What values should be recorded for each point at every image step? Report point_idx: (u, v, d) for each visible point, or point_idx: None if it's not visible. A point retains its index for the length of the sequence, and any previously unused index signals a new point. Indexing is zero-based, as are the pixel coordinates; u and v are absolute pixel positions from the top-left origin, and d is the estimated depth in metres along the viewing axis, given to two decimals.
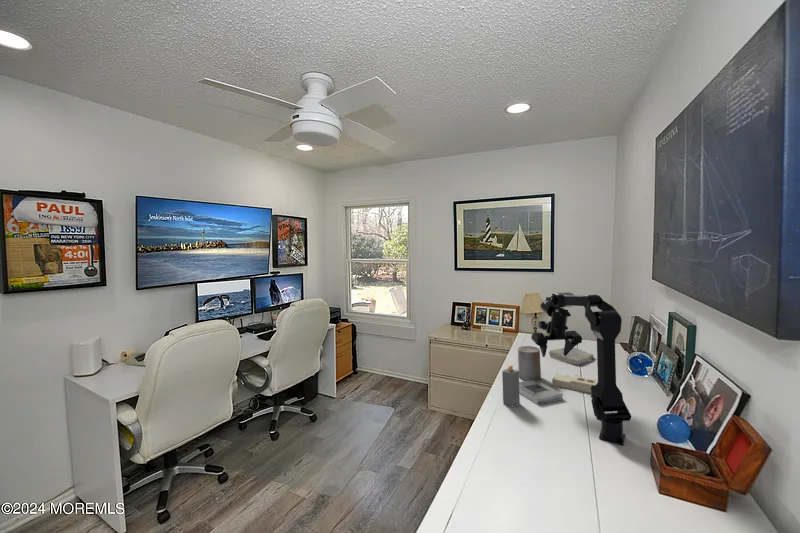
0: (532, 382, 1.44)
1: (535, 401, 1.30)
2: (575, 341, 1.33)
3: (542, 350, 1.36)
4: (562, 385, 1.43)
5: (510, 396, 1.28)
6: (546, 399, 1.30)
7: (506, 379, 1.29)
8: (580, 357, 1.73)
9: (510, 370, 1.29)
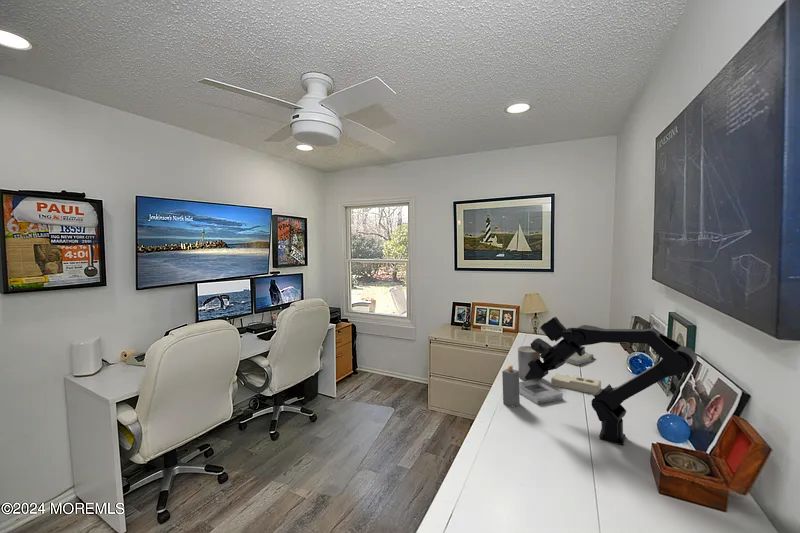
0: (532, 382, 1.44)
1: (535, 401, 1.30)
2: None
3: (532, 376, 1.17)
4: (561, 385, 1.44)
5: (510, 396, 1.28)
6: (546, 399, 1.30)
7: (506, 379, 1.29)
8: (580, 357, 1.73)
9: (510, 370, 1.29)
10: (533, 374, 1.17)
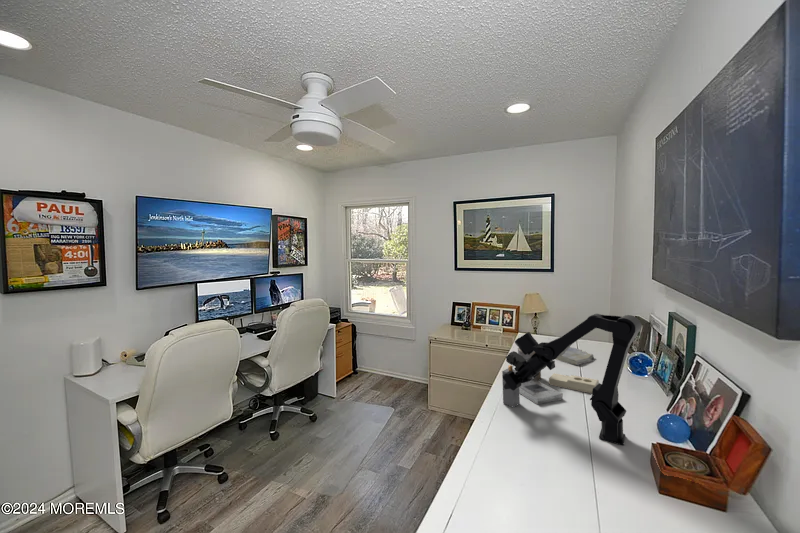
0: (532, 382, 1.44)
1: (535, 401, 1.30)
2: (534, 377, 1.29)
3: (510, 386, 1.26)
4: (559, 384, 1.44)
5: (510, 396, 1.28)
6: (546, 399, 1.30)
7: None
8: (580, 357, 1.73)
9: (510, 370, 1.29)
10: None
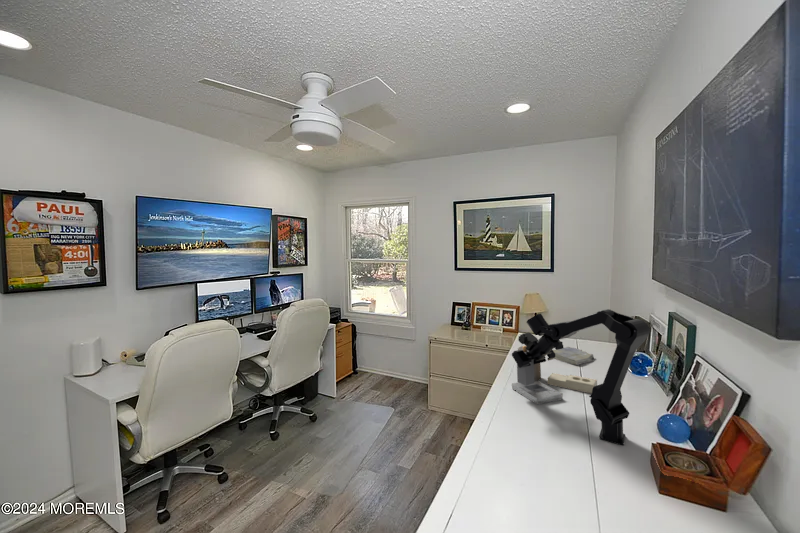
0: None
1: (535, 401, 1.30)
2: (549, 359, 1.32)
3: None
4: (557, 384, 1.45)
5: (523, 374, 1.33)
6: (546, 399, 1.30)
7: None
8: (580, 357, 1.73)
9: (524, 350, 1.34)
10: None
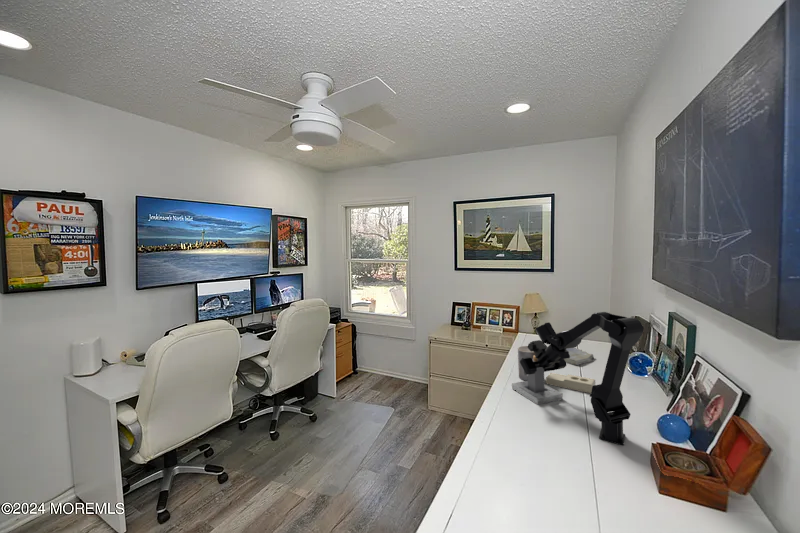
0: None
1: (535, 401, 1.30)
2: (559, 367, 1.33)
3: None
4: (556, 384, 1.45)
5: (533, 384, 1.36)
6: (546, 399, 1.30)
7: None
8: (580, 357, 1.73)
9: (534, 360, 1.37)
10: None
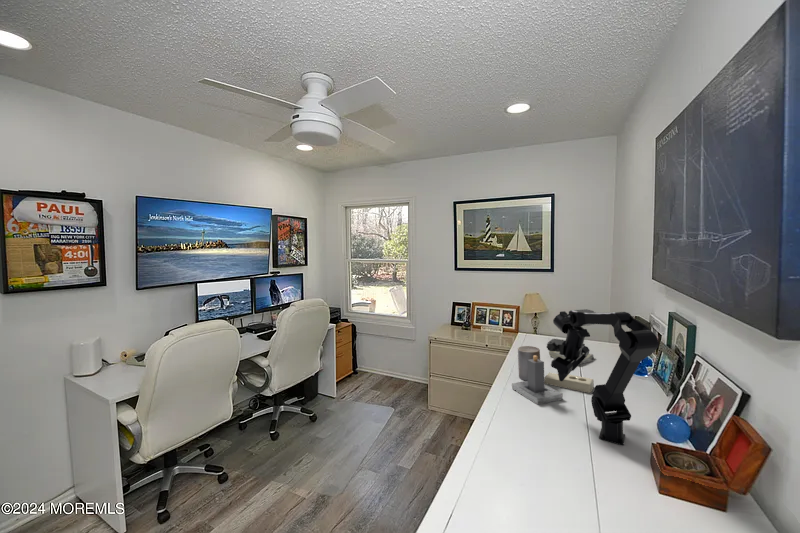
0: None
1: (535, 401, 1.30)
2: (586, 354, 1.26)
3: (563, 375, 1.21)
4: (554, 383, 1.45)
5: (533, 384, 1.36)
6: (546, 399, 1.30)
7: (530, 368, 1.37)
8: None
9: (534, 360, 1.37)
10: (562, 373, 1.22)
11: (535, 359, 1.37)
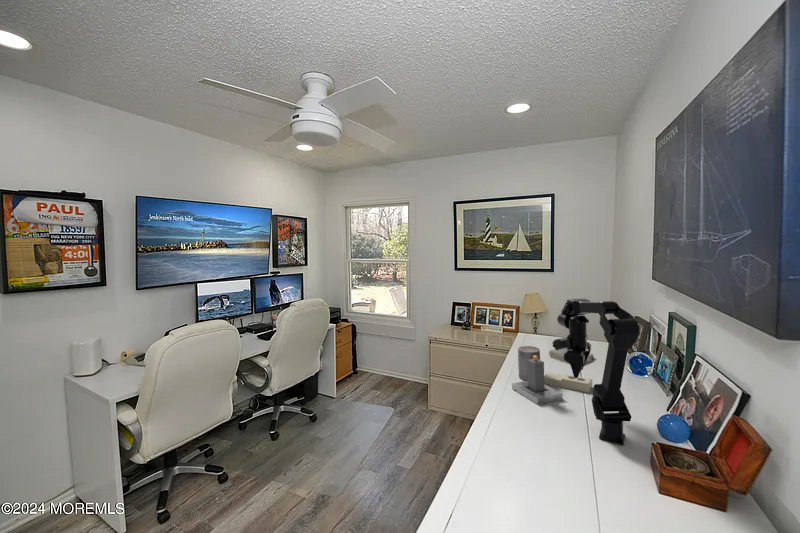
0: None
1: (535, 401, 1.30)
2: (590, 349, 1.27)
3: (578, 369, 1.19)
4: (553, 383, 1.46)
5: (533, 384, 1.36)
6: (546, 399, 1.30)
7: (530, 368, 1.37)
8: None
9: (534, 360, 1.37)
10: (576, 366, 1.19)
11: (535, 359, 1.37)
